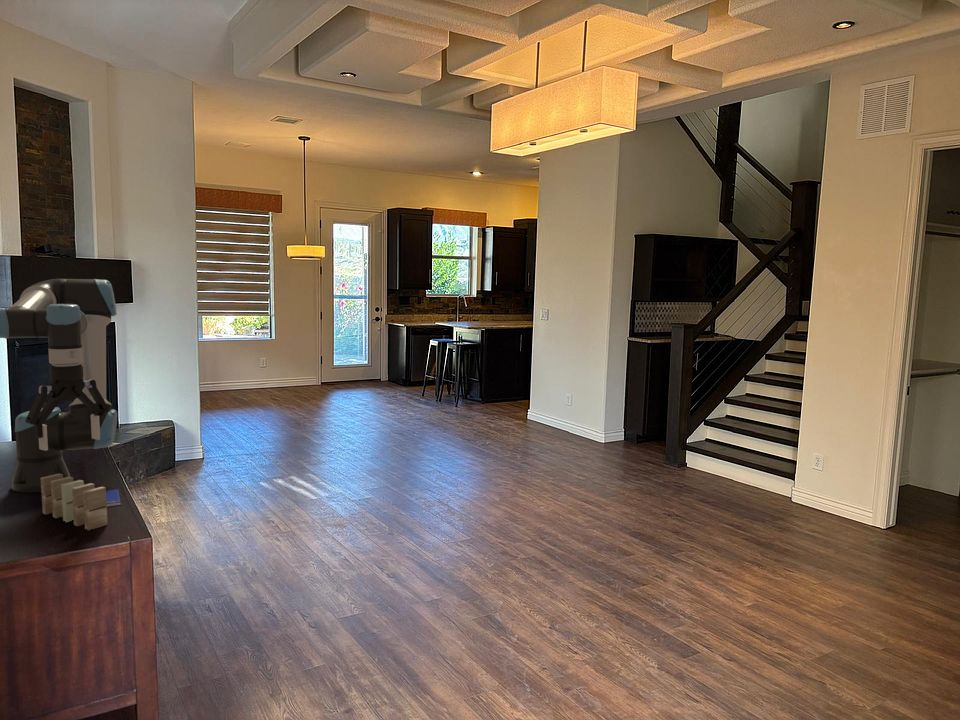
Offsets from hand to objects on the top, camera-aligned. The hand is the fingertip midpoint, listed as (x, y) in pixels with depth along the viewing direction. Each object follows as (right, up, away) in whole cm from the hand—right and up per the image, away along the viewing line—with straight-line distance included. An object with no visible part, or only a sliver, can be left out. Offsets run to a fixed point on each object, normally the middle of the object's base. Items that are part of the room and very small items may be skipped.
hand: (70, 444), depth 184 cm
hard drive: (-1, -19, +18) cm, 26 cm away
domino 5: (+8, -21, -2) cm, 23 cm away
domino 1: (-9, -19, +8) cm, 23 cm away
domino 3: (-1, -20, +3) cm, 20 cm away
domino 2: (-5, -20, +5) cm, 21 cm away
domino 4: (+4, -21, 0) cm, 21 cm away
